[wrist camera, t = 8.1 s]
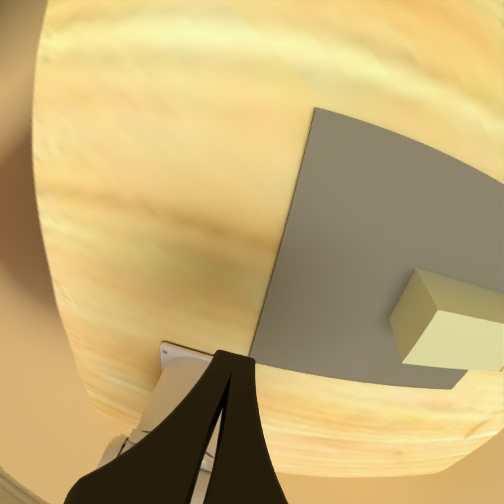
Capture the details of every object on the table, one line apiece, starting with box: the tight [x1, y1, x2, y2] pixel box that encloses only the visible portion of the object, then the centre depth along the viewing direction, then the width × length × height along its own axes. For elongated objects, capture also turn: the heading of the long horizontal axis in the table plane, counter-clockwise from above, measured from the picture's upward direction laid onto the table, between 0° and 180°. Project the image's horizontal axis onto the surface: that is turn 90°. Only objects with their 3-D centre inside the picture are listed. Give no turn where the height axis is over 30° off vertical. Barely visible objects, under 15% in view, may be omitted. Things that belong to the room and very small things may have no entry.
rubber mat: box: [249, 107, 504, 389], centre depth 19 cm, size 20×22×1 cm
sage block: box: [389, 268, 504, 372], centre depth 17 cm, size 4×4×11 cm
